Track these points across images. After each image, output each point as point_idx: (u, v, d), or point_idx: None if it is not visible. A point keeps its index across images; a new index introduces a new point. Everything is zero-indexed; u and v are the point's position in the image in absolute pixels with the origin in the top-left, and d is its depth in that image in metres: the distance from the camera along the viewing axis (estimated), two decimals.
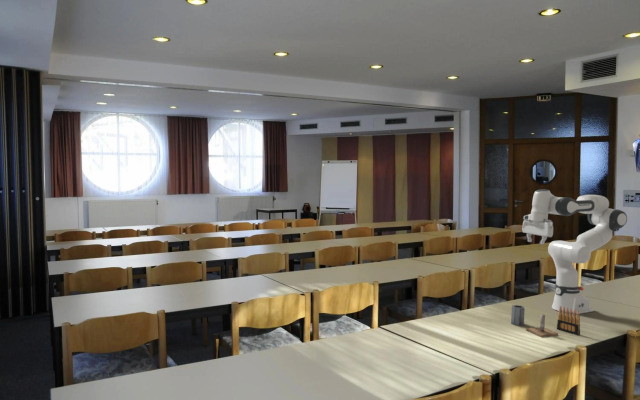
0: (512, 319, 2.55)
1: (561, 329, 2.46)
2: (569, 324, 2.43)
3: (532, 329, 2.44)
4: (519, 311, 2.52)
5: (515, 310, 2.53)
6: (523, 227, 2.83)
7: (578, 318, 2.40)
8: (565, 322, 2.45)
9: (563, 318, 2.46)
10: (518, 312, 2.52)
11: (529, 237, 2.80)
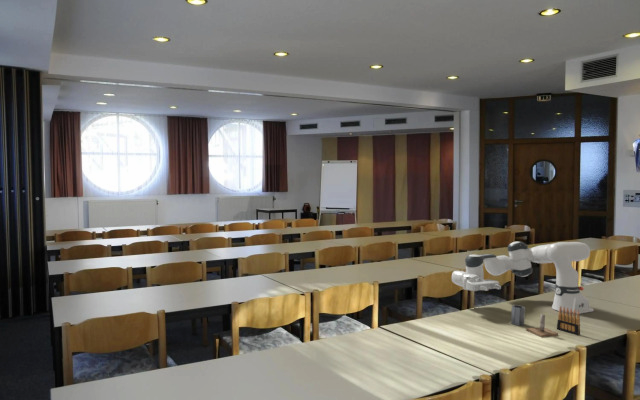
0: (512, 319, 2.55)
1: (561, 329, 2.46)
2: (569, 324, 2.43)
3: (532, 329, 2.44)
4: (519, 311, 2.52)
5: (515, 310, 2.53)
6: (471, 283, 2.70)
7: (578, 318, 2.40)
8: (565, 322, 2.45)
9: (563, 318, 2.46)
10: (518, 312, 2.52)
11: None
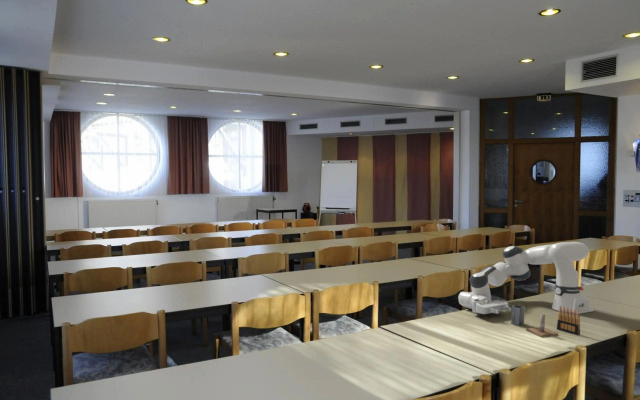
0: (512, 319, 2.55)
1: (561, 329, 2.46)
2: (569, 324, 2.43)
3: (532, 329, 2.44)
4: (519, 311, 2.52)
5: (515, 310, 2.53)
6: (482, 305, 2.63)
7: (578, 318, 2.40)
8: (565, 322, 2.45)
9: (563, 318, 2.46)
10: (518, 312, 2.52)
11: None
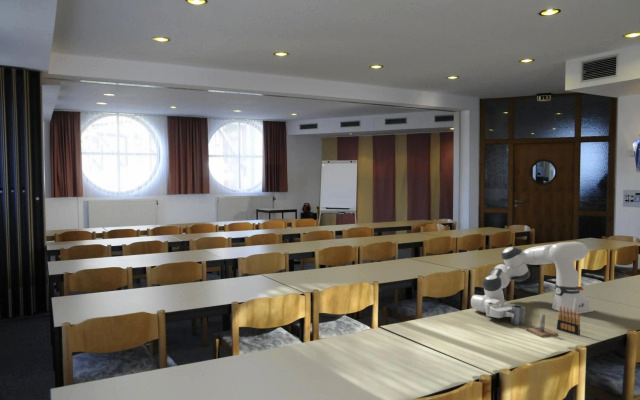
0: (512, 319, 2.55)
1: (561, 329, 2.46)
2: (569, 324, 2.43)
3: (532, 329, 2.44)
4: (519, 311, 2.52)
5: (515, 310, 2.53)
6: (496, 309, 2.56)
7: (578, 318, 2.40)
8: (565, 322, 2.45)
9: (563, 318, 2.46)
10: (518, 312, 2.52)
11: None
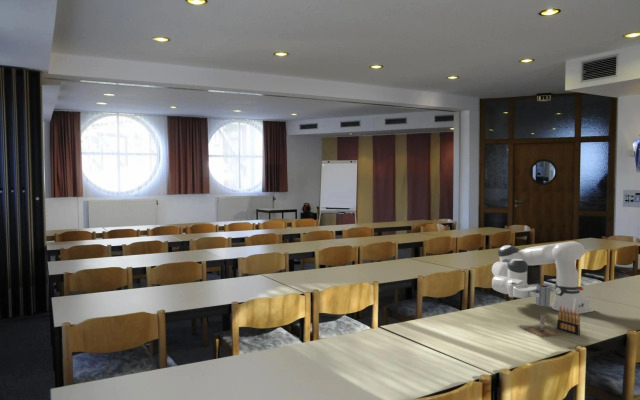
0: (537, 299, 2.41)
1: (561, 329, 2.46)
2: (569, 324, 2.43)
3: (532, 329, 2.44)
4: (544, 291, 2.38)
5: (540, 290, 2.39)
6: (519, 289, 2.42)
7: (578, 318, 2.40)
8: (565, 322, 2.45)
9: (563, 318, 2.46)
10: (544, 292, 2.38)
11: None
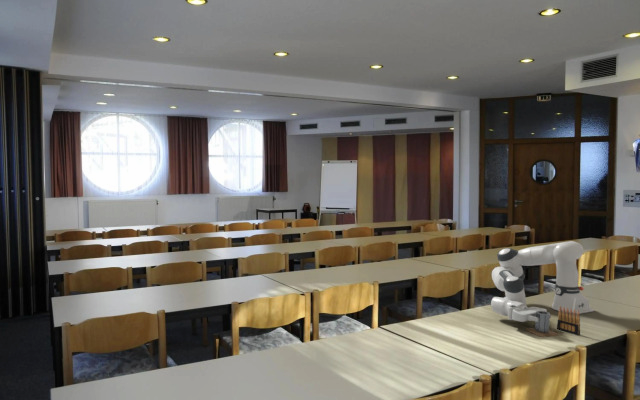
0: (536, 326, 2.41)
1: (561, 329, 2.46)
2: (569, 324, 2.43)
3: (532, 329, 2.44)
4: (544, 317, 2.39)
5: (540, 316, 2.40)
6: (519, 312, 2.42)
7: (578, 318, 2.40)
8: (565, 322, 2.45)
9: (563, 318, 2.46)
10: (543, 318, 2.39)
11: None
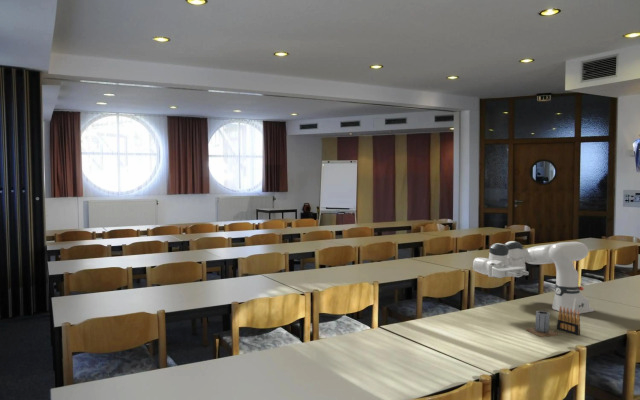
0: (536, 326, 2.41)
1: (561, 329, 2.46)
2: (569, 324, 2.43)
3: (532, 329, 2.44)
4: (544, 317, 2.39)
5: (540, 316, 2.40)
6: (498, 269, 2.53)
7: (578, 318, 2.40)
8: (565, 322, 2.45)
9: (563, 318, 2.46)
10: (543, 318, 2.39)
11: None
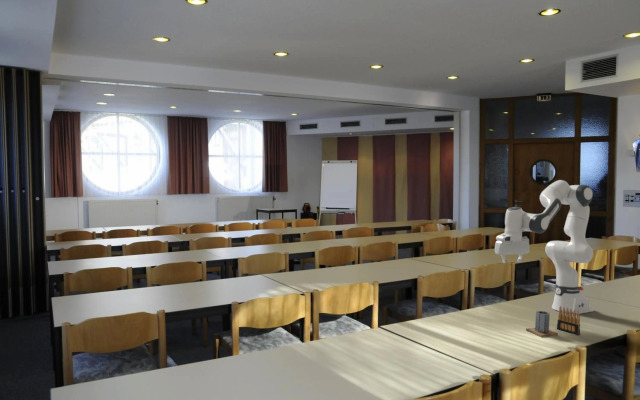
0: (536, 326, 2.41)
1: (561, 329, 2.46)
2: (569, 324, 2.43)
3: (532, 329, 2.44)
4: (544, 317, 2.39)
5: (540, 316, 2.40)
6: (501, 249, 2.64)
7: (578, 318, 2.40)
8: (565, 322, 2.45)
9: (563, 318, 2.46)
10: (543, 318, 2.39)
11: None
